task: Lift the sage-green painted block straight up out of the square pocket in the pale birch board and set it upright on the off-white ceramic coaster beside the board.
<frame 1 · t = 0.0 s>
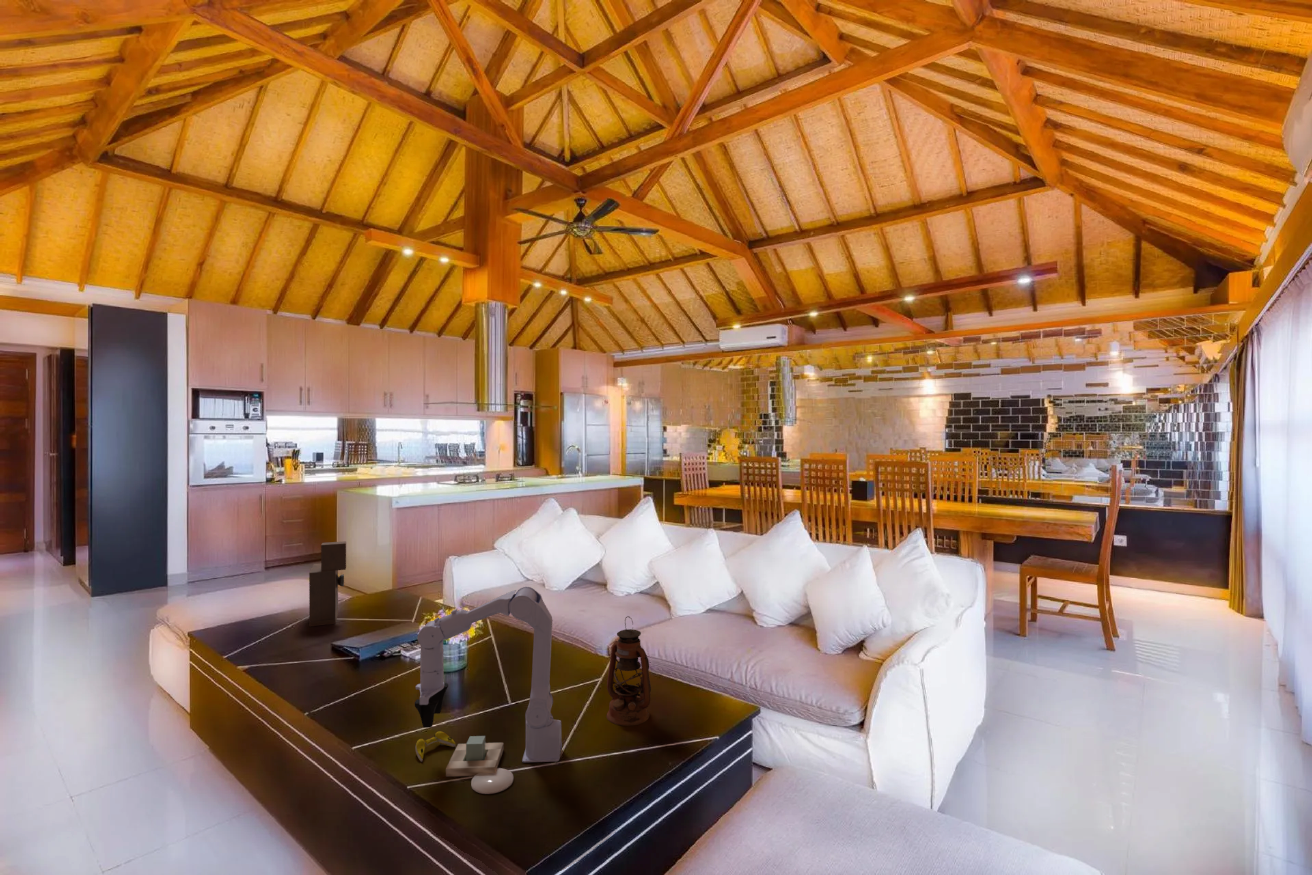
hand: (432, 719, 162), 10 cm above the table, tool pointing down, fingers open, 7 cm apart
coaster: (492, 781, 151), on the table
lantern: (627, 716, 186), on the table
game controller: (433, 752, 166), on the table
block: (475, 751, 160), in the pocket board
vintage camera: (326, 619, 278), on the table
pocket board: (475, 762, 160), on the table
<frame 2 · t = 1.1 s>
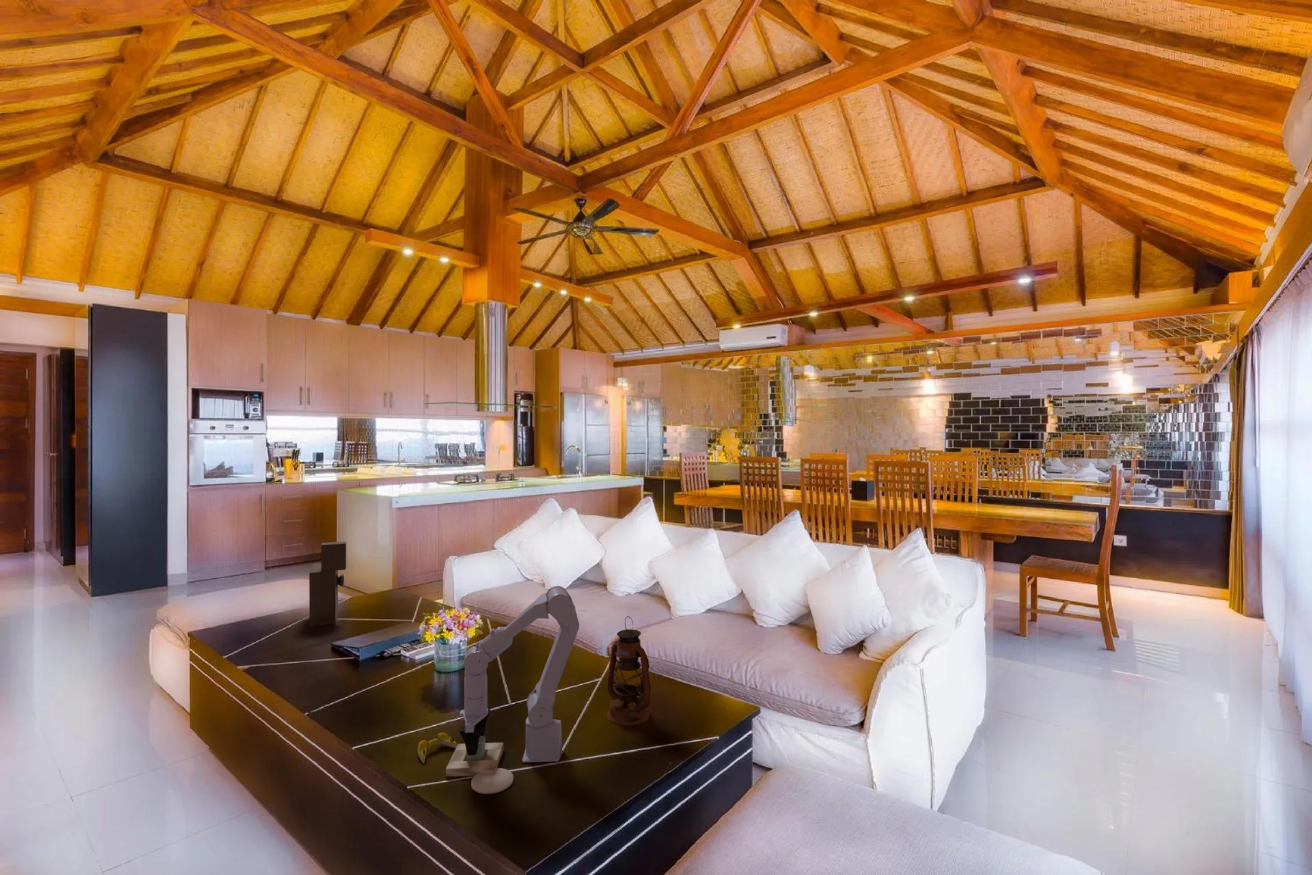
hand: (475, 746, 160), 4 cm above the table, tool pointing down, fingers open, 7 cm apart
game controller: (435, 753, 165), on the table
everything else where it was.
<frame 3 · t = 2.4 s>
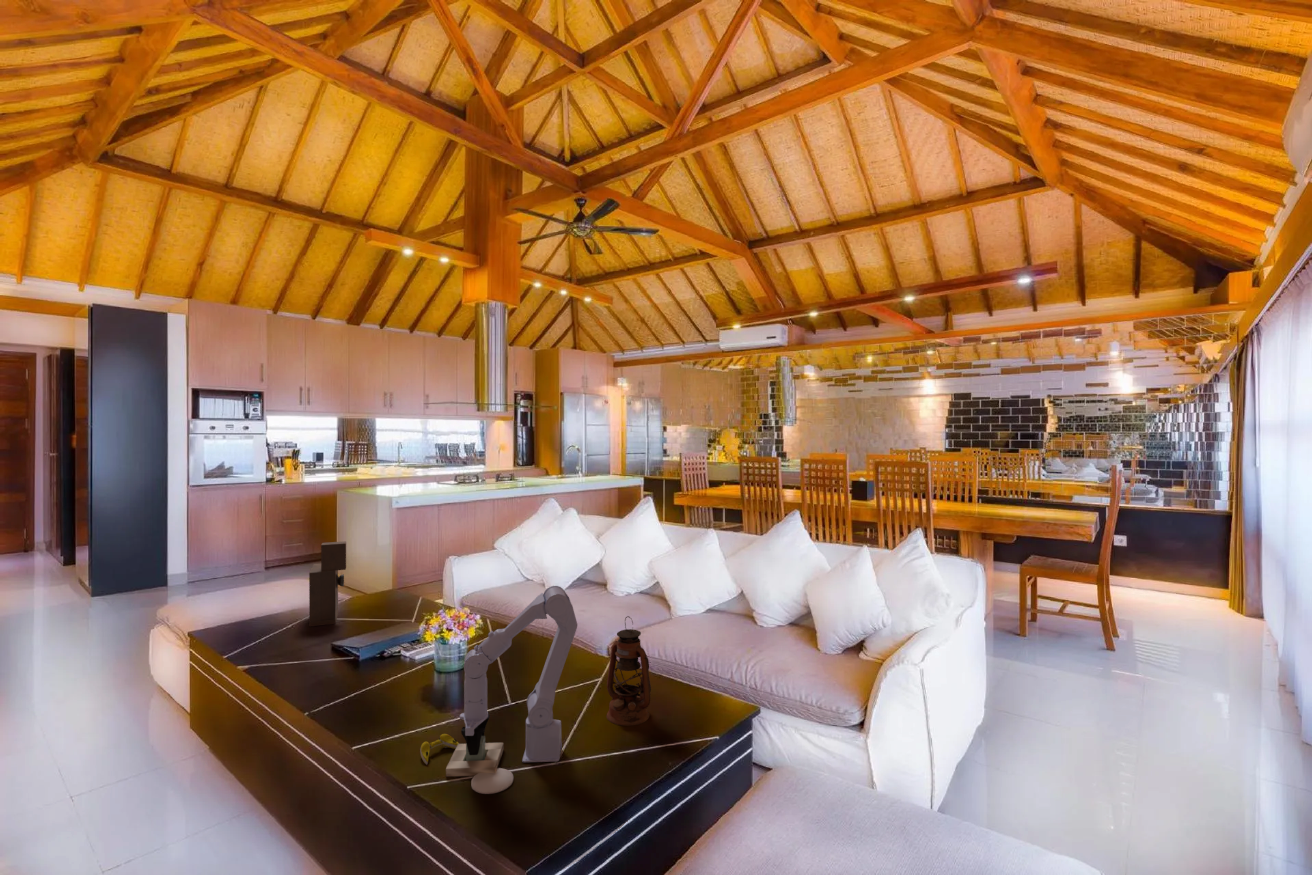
hand: (475, 749, 160), 3 cm above the table, tool pointing down, fingers closed on block, 4 cm apart
game controller: (438, 754, 164), on the table
block: (475, 751, 160), in the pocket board, touching gripper
everything else where it was.
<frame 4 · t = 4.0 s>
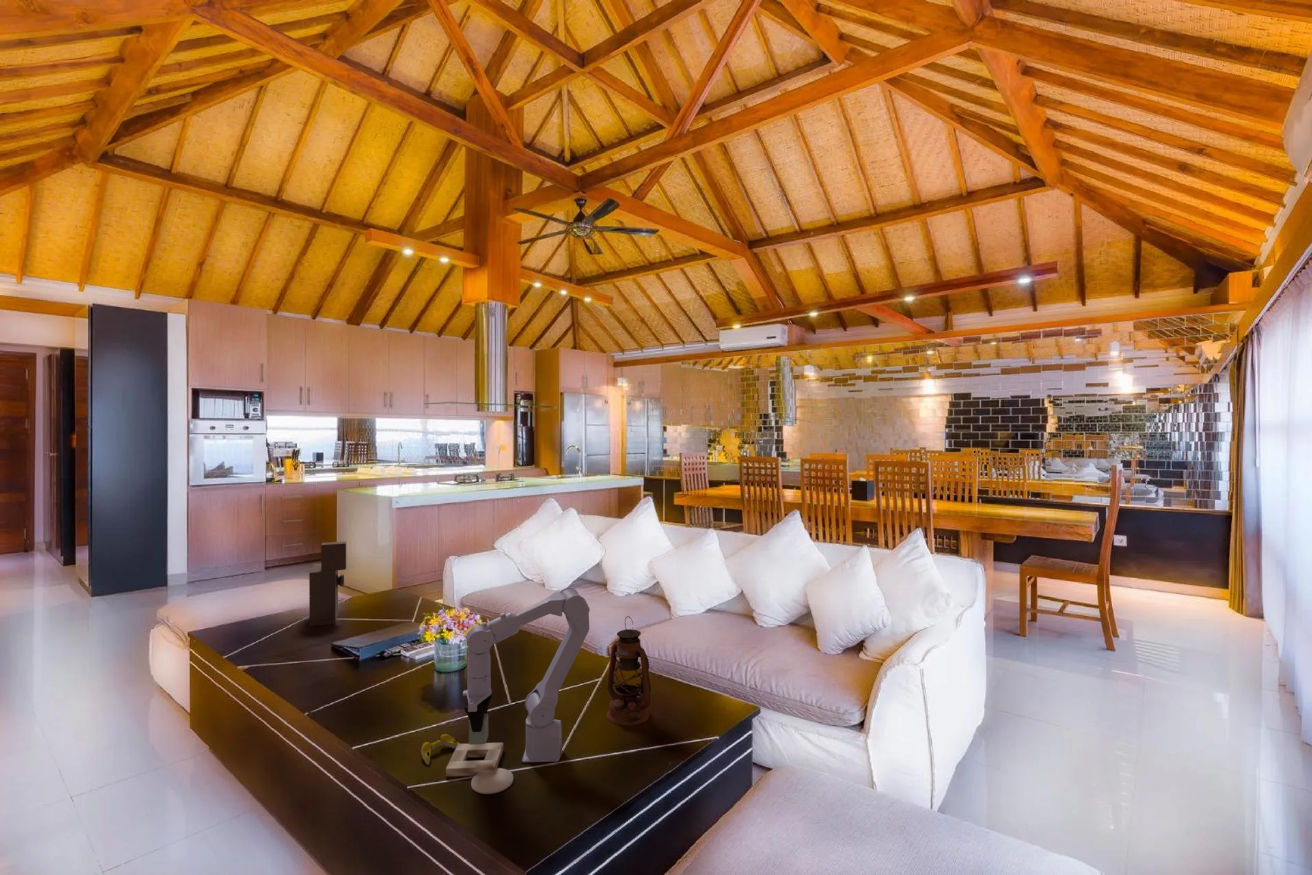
hand: (479, 726, 158), 10 cm above the table, tool pointing down, fingers closed on block, 4 cm apart
block: (478, 728, 158), point 10 cm above the table, touching gripper
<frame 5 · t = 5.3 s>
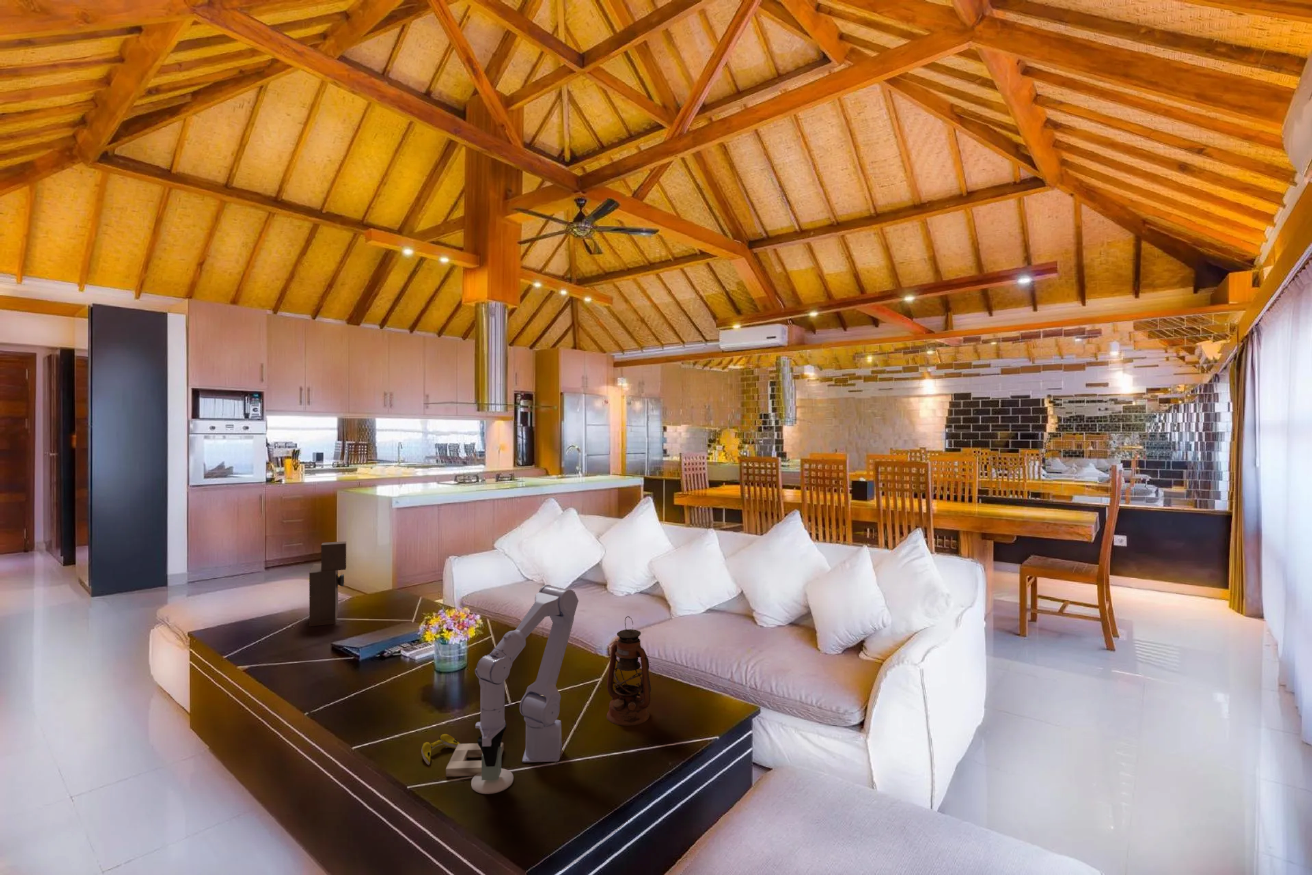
hand: (492, 760, 151), 5 cm above the table, tool pointing down, fingers closed on block, 4 cm apart
block: (491, 763, 151), point 5 cm above the table, touching gripper
everything else where it was.
when the fingers open (5 cm above the table, at t = 6.1 s): block stays where it is, resting on coaster.
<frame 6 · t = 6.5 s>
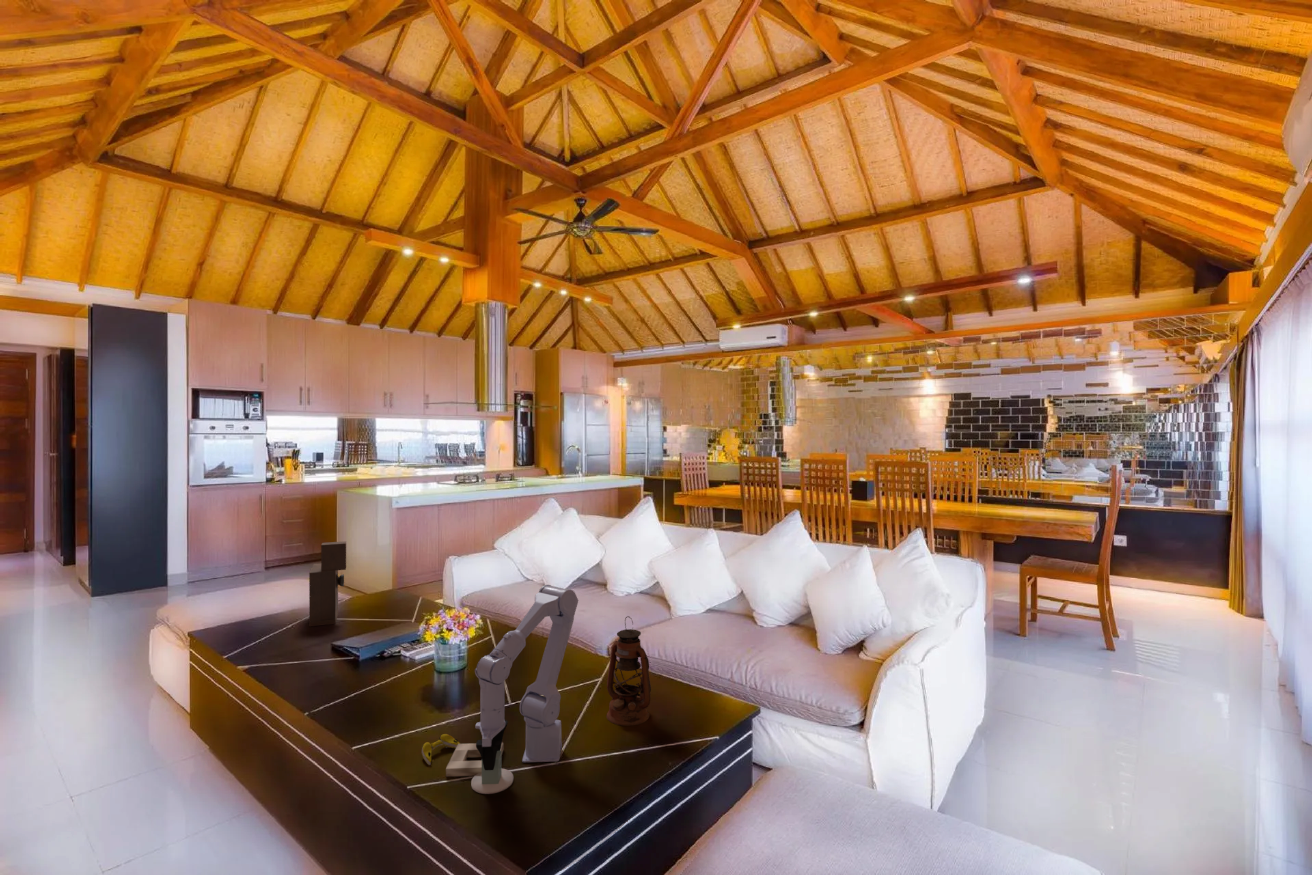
hand: (492, 760, 151), 5 cm above the table, tool pointing down, fingers open, 7 cm apart
block: (491, 767, 151), on the coaster, point 4 cm above the table
everything else where it was.
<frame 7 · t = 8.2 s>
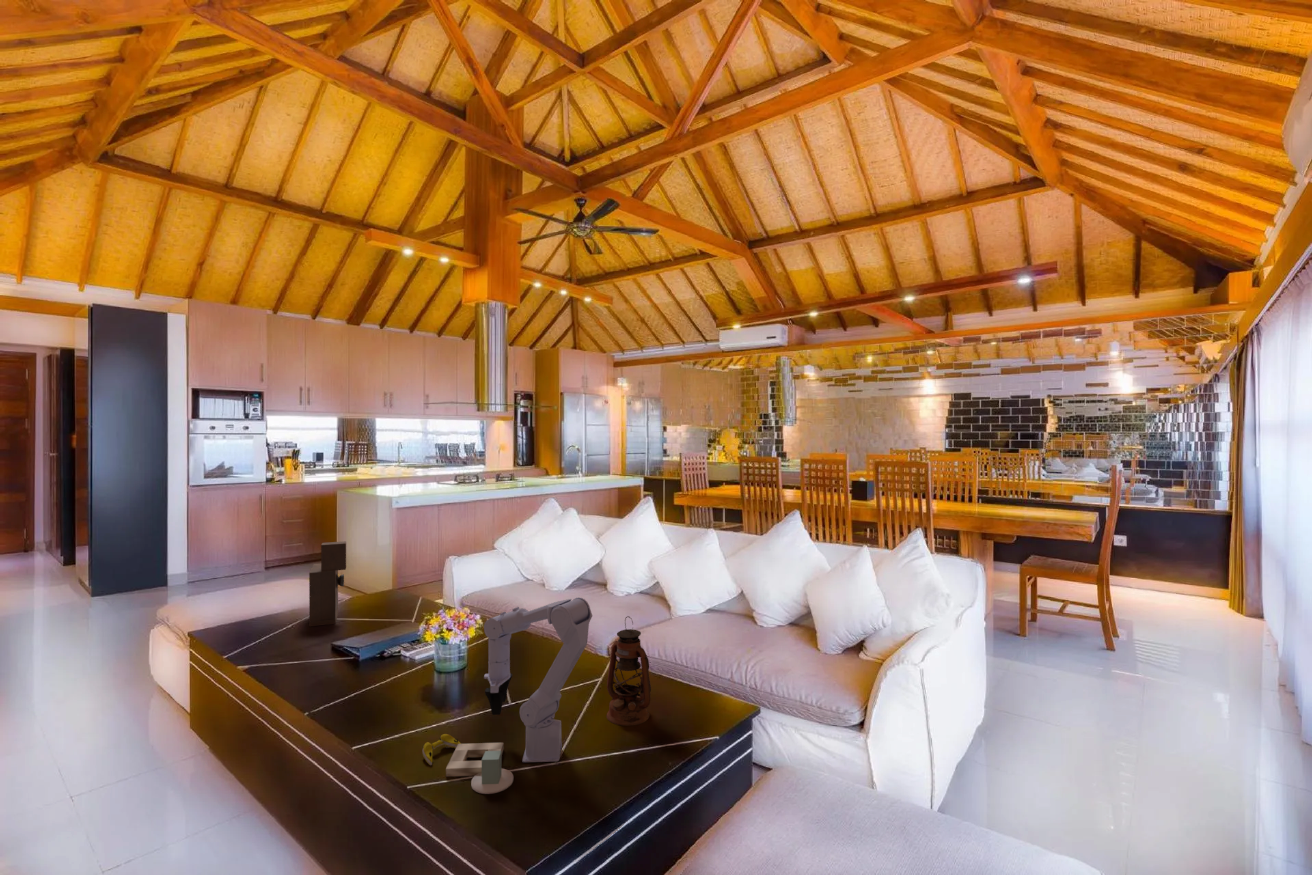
hand: (499, 707, 170), 9 cm above the table, tool pointing down, fingers open, 7 cm apart
nothing on the table moved.
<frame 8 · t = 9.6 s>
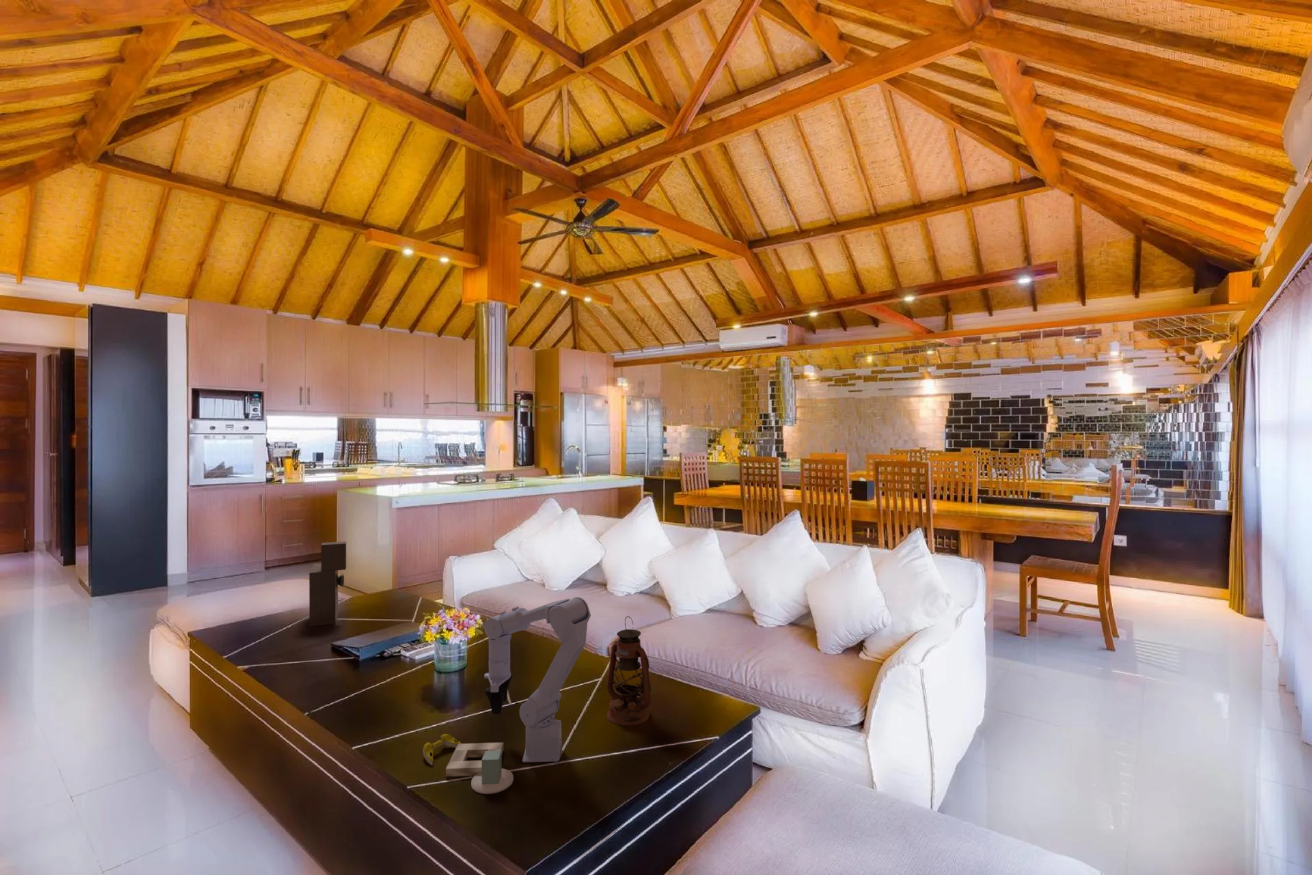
hand: (499, 707, 171), 9 cm above the table, tool pointing down, fingers open, 7 cm apart
nothing on the table moved.
at the end: block 0.2 cm off-centre on the coaster, point 3.6 cm above the coaster's base; block tilted 0°; the gripper is holding nothing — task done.
